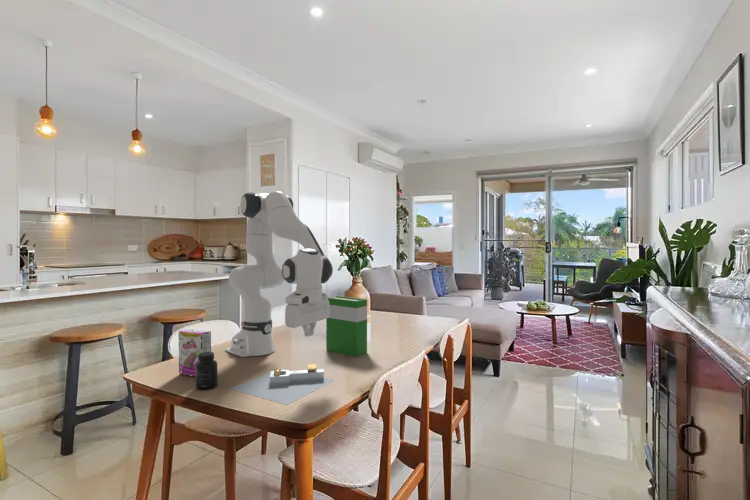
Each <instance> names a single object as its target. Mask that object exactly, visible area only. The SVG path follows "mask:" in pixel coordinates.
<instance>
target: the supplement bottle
mask: <svg viewBox="0 0 750 500" xmlns="http://www.w3.org/2000/svg"><path fill="white" fill-rule="evenodd" d="M198 361H199V362H198V363H197V364H196V366H195V375H196V377H195V390H197V391H200V392H201V391H203V392H204V391H210V390H214V389H216V388H217V387H218V386H219V379H218V376H219V375H218V362H217V360H216V359H215V353H214V352H213V351H211V352H204V353H200V354H199V355H198Z"/></svg>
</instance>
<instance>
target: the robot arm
mask: <svg viewBox="0 0 750 500" xmlns="http://www.w3.org/2000/svg"><path fill="white" fill-rule="evenodd" d="M239 204H240V211H241V214H242V215H243V216H244V217H246V218H247V223H246V236H245V239H246V240H245V250H246V252H247V253H248V254H249V256H251V257H253V258H254V259H255V261H256V264H253V265H252V264H251V265H241V266H238V267H234V268H232V269H231V271H230V273H229V275H228V282H229V285H230V287H231V288H232V289H233V290H235V291H236V292H237V293H238V294H239V295H240V297H241V298H242V301H243V304H244V316H245V317H244V318H245V320H244V321H241V322H240V323H241V324H240V325H241V326H242V329H240V330H239V331H238V332H237V333H236V334H235V335H233V337H232V339H231V345H230V346H228V347H226V348H225V352H227V353H230V354H232V355H235V356H238V357H240V358H246V357H257V356H259V357H260V356H265V355H269V354H272V353H274V352H275V351H276V348H275V347H276V346H275V344H274V337H273V331H272V328H273V320H272V304H271V302H270V300H269V299H267V298H265V297H264V296H262V295H261V290H265V289H273V288H276V287H279V286H282V284H283V283H284V282H286V283H287V284H290V285H296V286H295V291H293V292H292V293H291V294H288V295H287V296H286V297H285V299H284V300H285V303H286V305H285V308H284V310H285V311H284V324H285V326H286V327H287V328H293V329H296V328H299V327H302V329H303V331H304V334H303V335H304V337H311V336H314V335H315V334H314V333H315V328H316V326H317V322H320V321H323V320H326V319H327V318H329V316H330V305H329V300H328V298H329V297H328V294H327V293H326V292H323V286H322V285H323V284H325V283H326V282H328V281H329V280H330V278H331V277H332V275H333V270H334V269H333V268H334V267H333V265H332V262H331V260H330V259H329V258H328V257H327V256H326V255H325V253H324V251H323V249H322V248H321V246H320V244H319V243H318V241H317V239H316V238H315V236H314V233H313V232H312V230H311V229H310V227H309V226H308V225H307V224H305V223H304V222H303V221H302V220H301V219H299V217H298V216H297V214H296V212H295V209H294V202H293V199H292V197H290V195H289V196H288V195H286V193H284V192H282V191H279V190H274V191H271V192H246V193H244V194H243V195H242V197H241V198H240V203H239ZM273 234H274V235H275V236H276V237H277V236H278V237H279V238H281V239H282V238H283V239H286V240H290V241H293V242H295V243H298V244H300V245H301V246H302V247H303V248H299V249H298V250H297V252H296V254H295V255H294V256H293V257H289V258H286V260H285V261H284V263H283V264H282V266H281V265H279V263H278V262H277V261H276V259H275V257H274V253H273Z"/></svg>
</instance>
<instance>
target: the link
mask: <svg viewBox="0 0 750 500" xmlns="http://www.w3.org/2000/svg"><path fill="white" fill-rule="evenodd" d="M290 370H291V369H287V370H281V375H276V376H274V370H271V371H270V373H271V374H270V386H276V385H289V383H293V382H306V381H320V380H324V378H325V374H324V373H325V371H324V368H320V369H318V368H317V370H310V371H308V369H303V370H292V371H290Z"/></svg>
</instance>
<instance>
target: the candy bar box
mask: <svg viewBox="0 0 750 500" xmlns="http://www.w3.org/2000/svg"><path fill="white" fill-rule="evenodd" d="M204 352H212V331H210V330H203V329H195V328H186V329H181V330H179V331H178V374H179V373H180V374H186V375H192V376H191V377H193V376H196V375H195V366H196V364H197V363H198V362H199V361H198V355H199V354H200V353H204ZM180 374H179V375H180ZM186 375H185V376H186Z"/></svg>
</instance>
